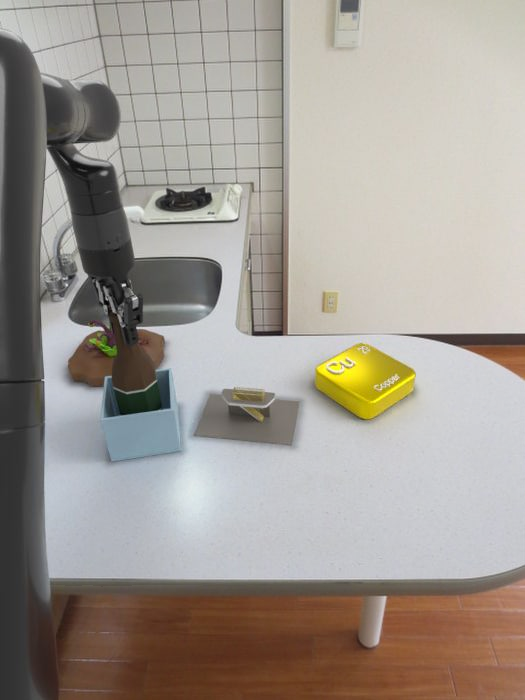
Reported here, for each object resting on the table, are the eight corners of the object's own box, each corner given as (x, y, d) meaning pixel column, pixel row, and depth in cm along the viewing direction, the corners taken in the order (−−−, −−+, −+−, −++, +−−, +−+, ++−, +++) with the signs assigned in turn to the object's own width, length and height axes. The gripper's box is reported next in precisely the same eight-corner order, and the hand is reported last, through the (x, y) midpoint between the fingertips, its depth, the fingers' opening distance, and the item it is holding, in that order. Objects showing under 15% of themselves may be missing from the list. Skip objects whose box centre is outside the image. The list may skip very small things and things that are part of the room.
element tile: (366, 423, 97) (368, 403, 94) (310, 385, 106) (310, 366, 104) (417, 389, 104) (420, 369, 101) (360, 356, 114) (362, 338, 111)
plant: (146, 391, 107) (137, 345, 100) (57, 384, 109) (42, 339, 103) (175, 337, 123) (168, 295, 116) (96, 332, 126) (86, 291, 119)
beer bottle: (158, 442, 92) (135, 326, 78) (116, 438, 93) (86, 323, 79) (171, 413, 98) (152, 300, 84) (132, 410, 99) (106, 298, 86)
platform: (291, 445, 93) (291, 417, 89) (193, 435, 96) (189, 408, 92) (299, 401, 102) (299, 374, 99) (210, 393, 105) (207, 367, 101)
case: (180, 451, 92) (173, 410, 87) (111, 461, 91) (99, 420, 85) (177, 407, 102) (171, 367, 97) (115, 416, 101) (104, 376, 95)
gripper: (58, 231, 77) (84, 329, 87) (101, 260, 68) (125, 366, 78) (105, 218, 81) (125, 313, 91) (151, 244, 72) (168, 347, 82)
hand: (125, 337), depth 84 cm, fingers closed on beer bottle, 4 cm apart
